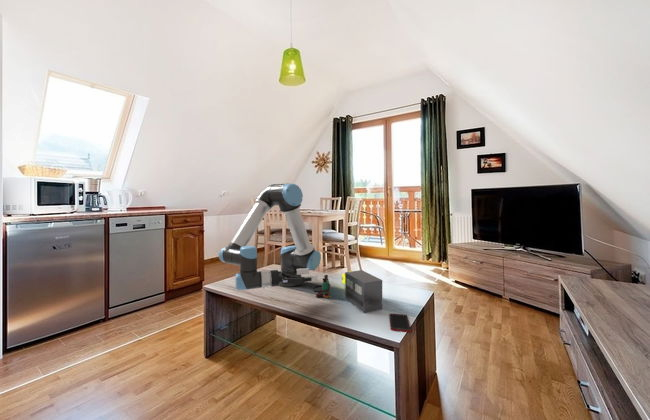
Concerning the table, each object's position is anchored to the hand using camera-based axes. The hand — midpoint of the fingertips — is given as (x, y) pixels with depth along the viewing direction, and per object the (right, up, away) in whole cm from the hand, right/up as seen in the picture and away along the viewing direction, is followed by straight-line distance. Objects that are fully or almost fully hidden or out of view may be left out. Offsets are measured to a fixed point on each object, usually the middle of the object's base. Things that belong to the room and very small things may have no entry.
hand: (312, 274), depth 130 cm
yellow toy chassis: (+22, -14, +25) cm, 36 cm away
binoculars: (+4, -15, +12) cm, 19 cm away
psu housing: (+25, -15, 0) cm, 29 cm away
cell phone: (+38, -16, -20) cm, 46 cm away
